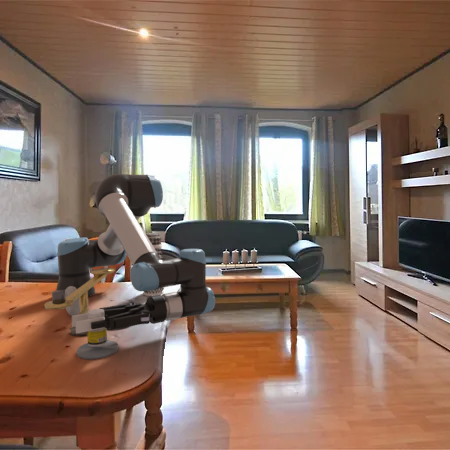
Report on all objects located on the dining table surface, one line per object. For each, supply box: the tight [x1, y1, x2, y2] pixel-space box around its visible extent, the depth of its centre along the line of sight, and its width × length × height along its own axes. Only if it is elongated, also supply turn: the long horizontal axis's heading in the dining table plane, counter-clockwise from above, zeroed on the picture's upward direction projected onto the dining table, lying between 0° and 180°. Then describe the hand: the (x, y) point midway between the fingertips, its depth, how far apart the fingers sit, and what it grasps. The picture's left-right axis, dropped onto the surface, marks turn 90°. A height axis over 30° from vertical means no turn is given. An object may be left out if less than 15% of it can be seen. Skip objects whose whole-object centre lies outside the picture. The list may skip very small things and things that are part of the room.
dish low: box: [76, 339, 119, 361], centre depth 90 cm, size 10×10×1 cm
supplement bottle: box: [86, 308, 108, 347], centre depth 90 cm, size 5×5×8 cm
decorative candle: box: [142, 232, 165, 297], centre depth 147 cm, size 9×9×25 cm
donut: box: [65, 286, 80, 317], centre depth 119 cm, size 10×4×10 cm, turn 40°
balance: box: [44, 267, 116, 337], centre depth 104 cm, size 8×26×16 cm, turn 162°
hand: (74, 324), depth 87 cm, fingers closed on supplement bottle, 5 cm apart
